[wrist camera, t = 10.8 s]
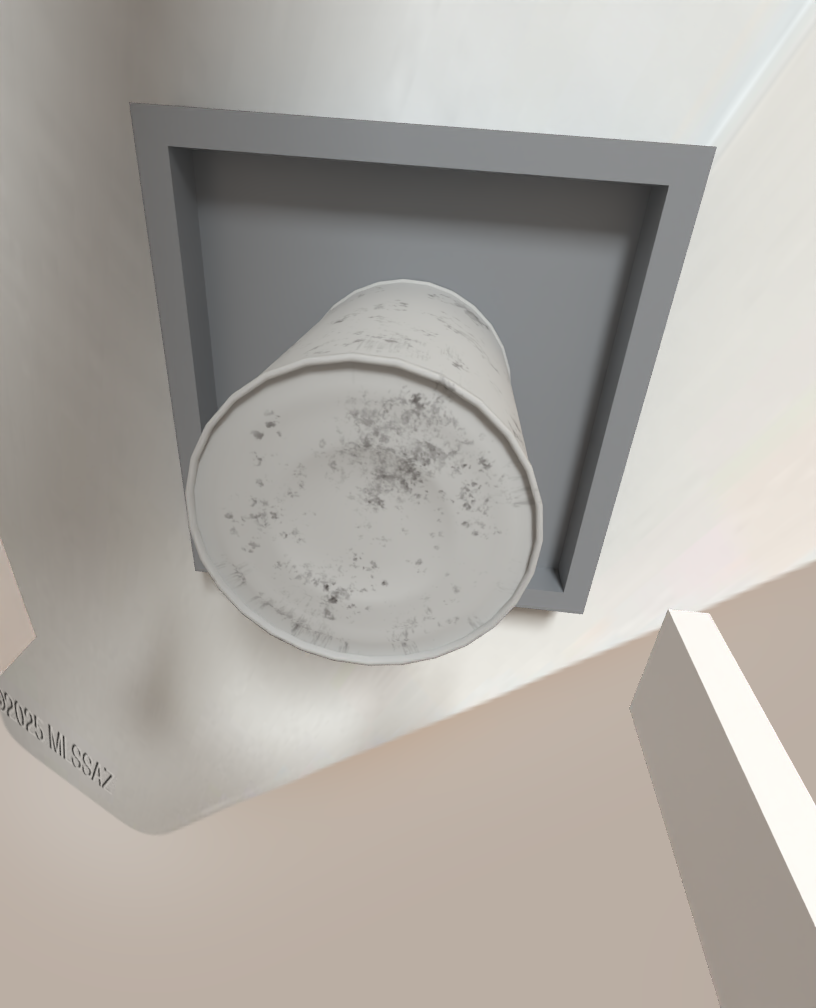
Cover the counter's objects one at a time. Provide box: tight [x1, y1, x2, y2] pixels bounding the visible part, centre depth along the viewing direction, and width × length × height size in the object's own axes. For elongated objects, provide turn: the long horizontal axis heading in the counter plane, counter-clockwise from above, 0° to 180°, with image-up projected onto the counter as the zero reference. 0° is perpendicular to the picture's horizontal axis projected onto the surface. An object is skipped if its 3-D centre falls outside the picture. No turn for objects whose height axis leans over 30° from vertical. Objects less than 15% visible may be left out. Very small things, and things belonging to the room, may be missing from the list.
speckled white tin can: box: [185, 279, 543, 665], centre depth 20 cm, size 10×10×12 cm
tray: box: [129, 102, 717, 614], centre depth 25 cm, size 20×20×3 cm
